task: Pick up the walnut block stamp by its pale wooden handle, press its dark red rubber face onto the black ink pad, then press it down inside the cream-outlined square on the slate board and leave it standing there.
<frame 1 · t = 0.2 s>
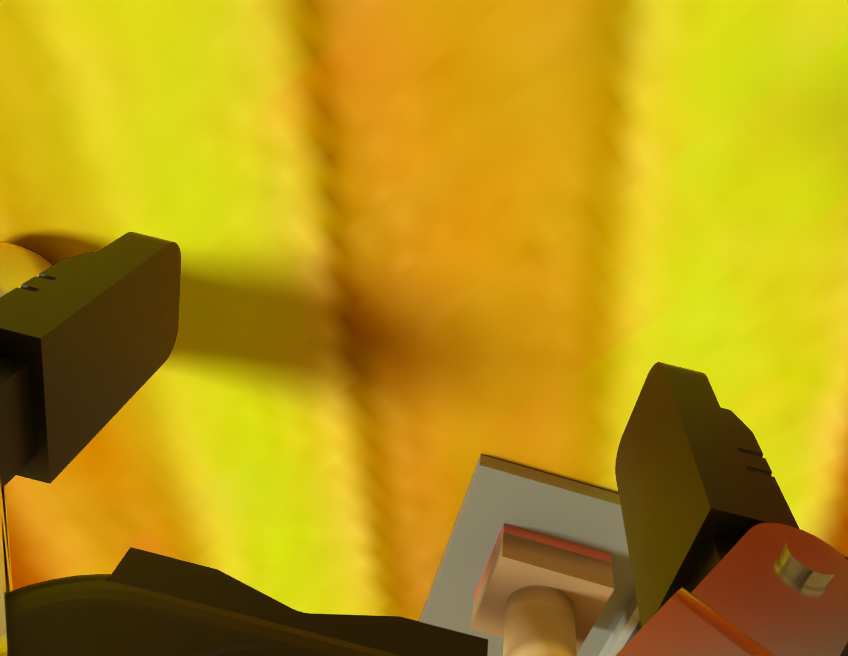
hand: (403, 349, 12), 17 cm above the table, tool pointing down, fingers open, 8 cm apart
plastic bottle: (35, 289, 34), on the table
stamp: (539, 574, 37), point 1 cm above the table, touching desk board
desk board: (590, 655, 41), on the table
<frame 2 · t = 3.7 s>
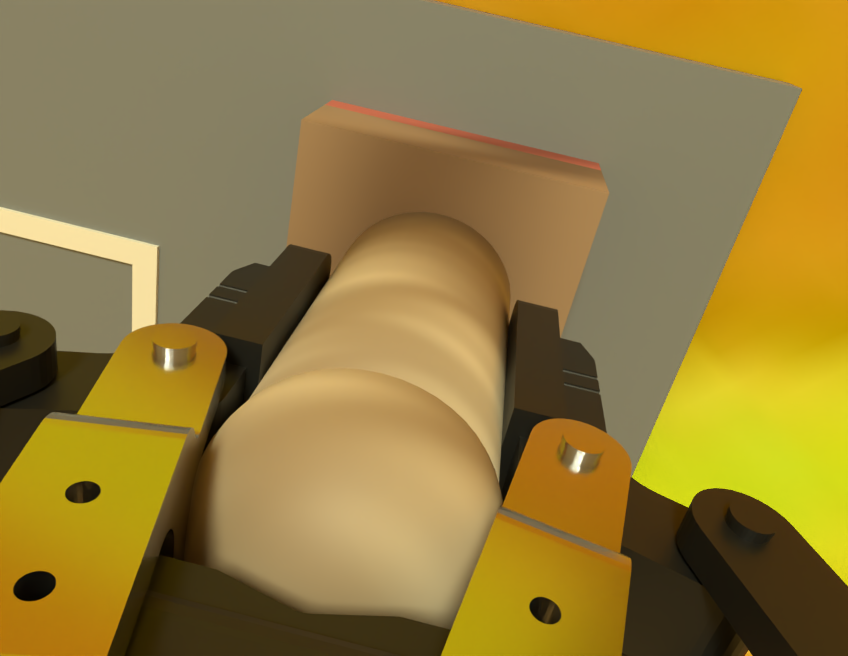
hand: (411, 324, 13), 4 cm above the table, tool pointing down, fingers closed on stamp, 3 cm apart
stamp: (436, 256, 16), point 1 cm above the table, touching desk board, gripper
desk board: (184, 362, 19), on the table
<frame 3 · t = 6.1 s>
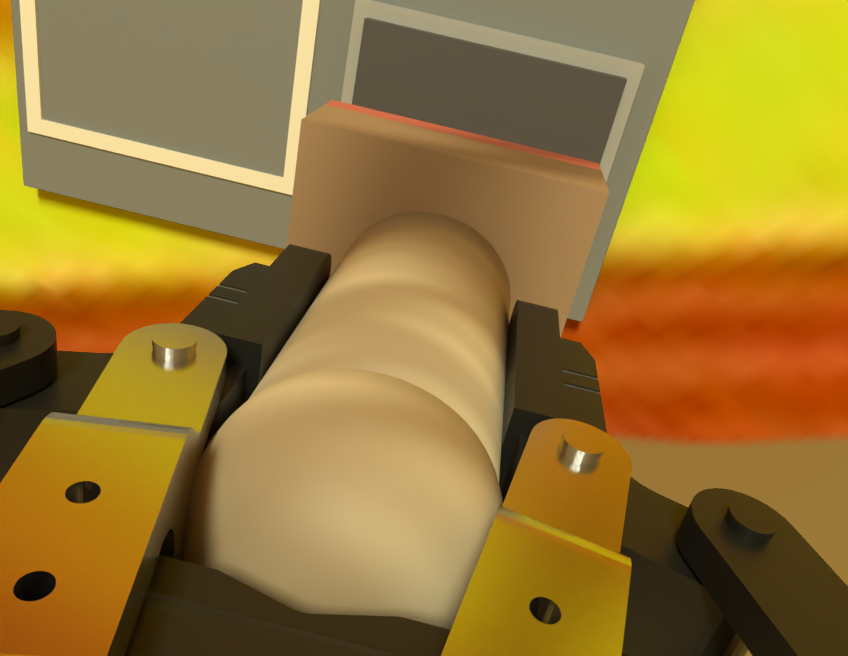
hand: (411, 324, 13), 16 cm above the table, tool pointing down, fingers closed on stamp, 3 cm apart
stamp: (436, 255, 16), point 13 cm above the table, touching gripper
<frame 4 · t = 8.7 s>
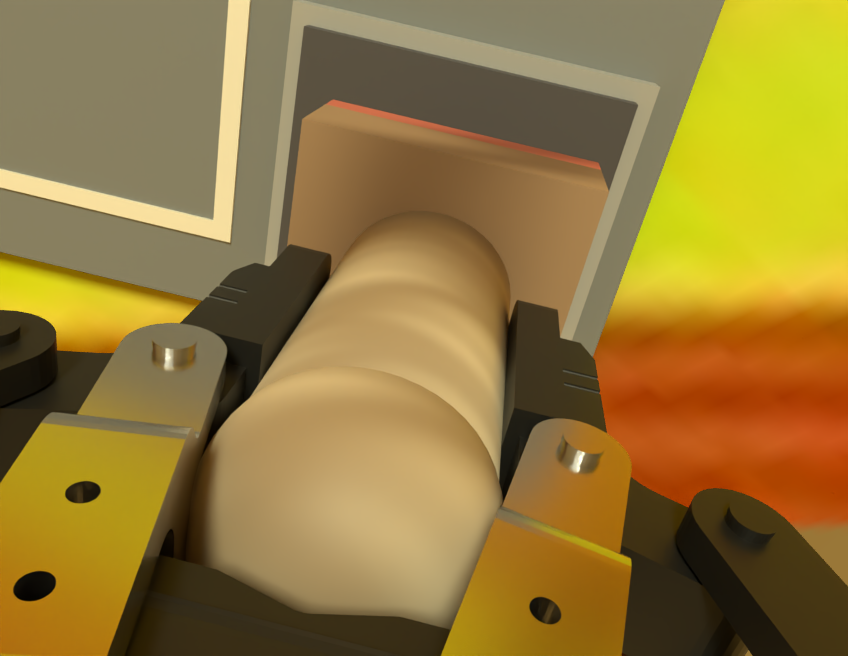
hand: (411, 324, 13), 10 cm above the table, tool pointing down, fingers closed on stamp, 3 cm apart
stamp: (436, 255, 16), point 7 cm above the table, touching gripper
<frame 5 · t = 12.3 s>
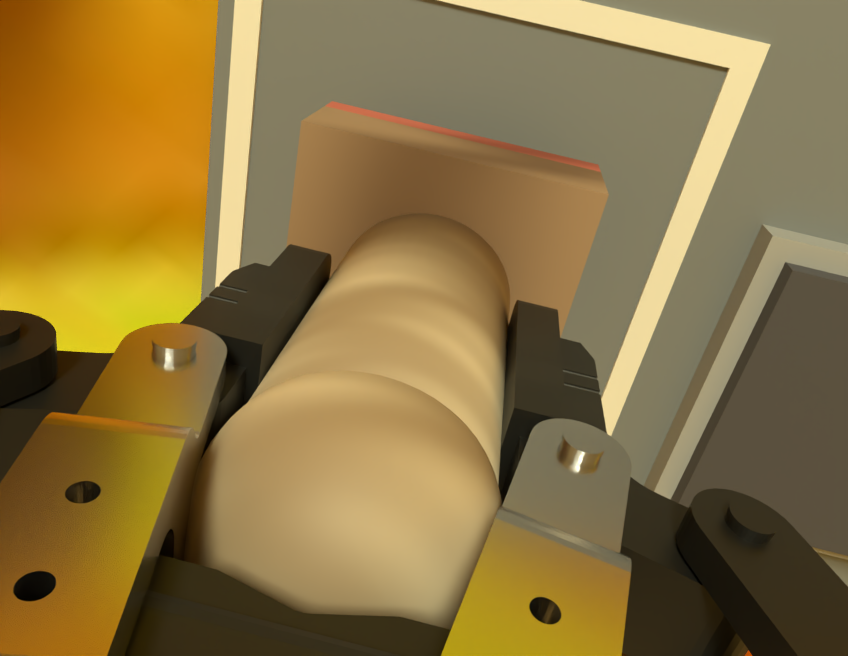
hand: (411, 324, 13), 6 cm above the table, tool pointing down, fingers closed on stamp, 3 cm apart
stamp: (436, 257, 16), point 2 cm above the table, touching gripper
desk board: (711, 203, 17), on the table
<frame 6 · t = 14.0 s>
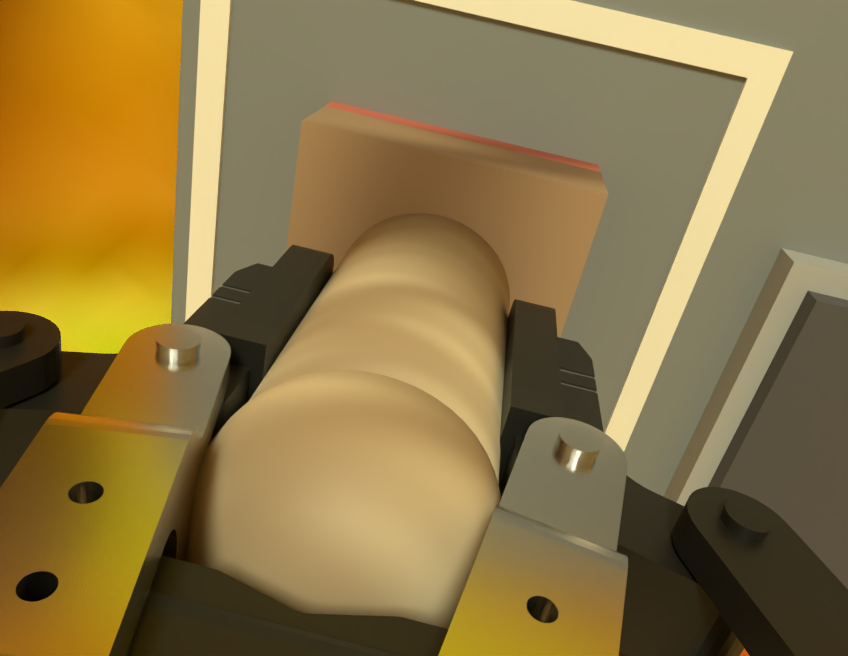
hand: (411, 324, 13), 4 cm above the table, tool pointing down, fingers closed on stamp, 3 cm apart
stamp: (436, 257, 16), point 1 cm above the table, touching desk board, gripper
desk board: (724, 224, 15), on the table
when the fingers open (4 cm above the table, at t = 14.1 s): stamp stays where it is, resting on desk board.
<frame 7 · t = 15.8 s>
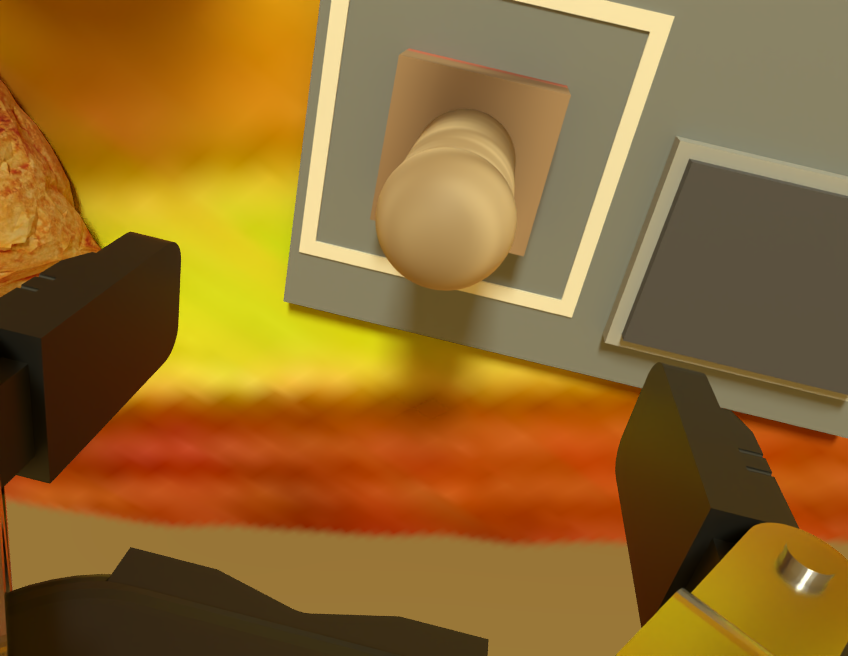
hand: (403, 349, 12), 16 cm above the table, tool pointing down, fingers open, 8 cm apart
stamp: (469, 146, 26), point 1 cm above the table, touching desk board
desk board: (644, 124, 25), on the table
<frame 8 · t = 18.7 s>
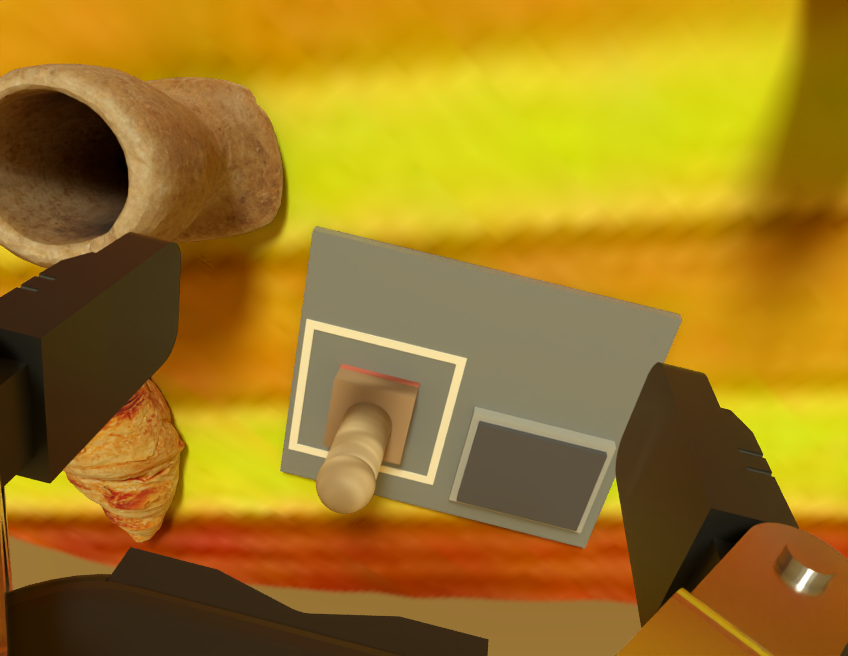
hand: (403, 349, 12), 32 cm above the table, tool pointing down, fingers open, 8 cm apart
croissant: (126, 417, 55), on the table
stamp: (374, 405, 50), point 1 cm above the table, touching desk board
desk board: (461, 397, 50), on the table
tan boot: (171, 143, 45), on the table
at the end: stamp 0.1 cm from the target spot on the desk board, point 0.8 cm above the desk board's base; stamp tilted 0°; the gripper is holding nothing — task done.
